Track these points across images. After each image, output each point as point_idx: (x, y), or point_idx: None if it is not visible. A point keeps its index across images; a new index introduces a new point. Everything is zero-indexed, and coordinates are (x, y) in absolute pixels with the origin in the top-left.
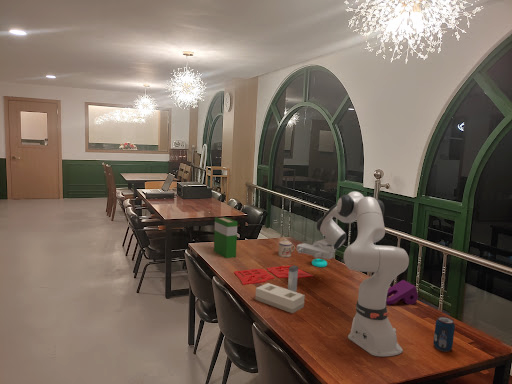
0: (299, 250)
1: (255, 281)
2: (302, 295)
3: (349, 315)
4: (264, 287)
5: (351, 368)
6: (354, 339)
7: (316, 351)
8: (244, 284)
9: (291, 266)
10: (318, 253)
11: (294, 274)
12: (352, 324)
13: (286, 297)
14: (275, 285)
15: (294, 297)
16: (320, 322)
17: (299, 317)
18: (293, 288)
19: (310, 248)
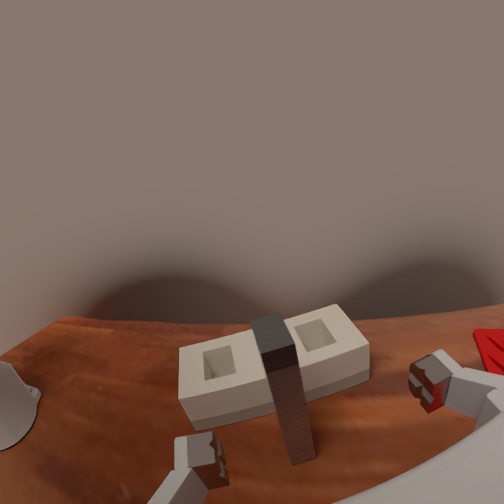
0: (427, 355)
1: (493, 365)
2: (182, 391)
3: (51, 487)
4: (329, 322)
5: (35, 344)
6: (27, 386)
7: (84, 336)
8: (473, 336)
9: (282, 324)
10: (174, 487)
11: (262, 364)
12: (19, 377)
13: (212, 345)
14: (330, 356)
15: (193, 362)
16: (107, 402)
17: (164, 381)
18: (277, 417)
19: (406, 479)
